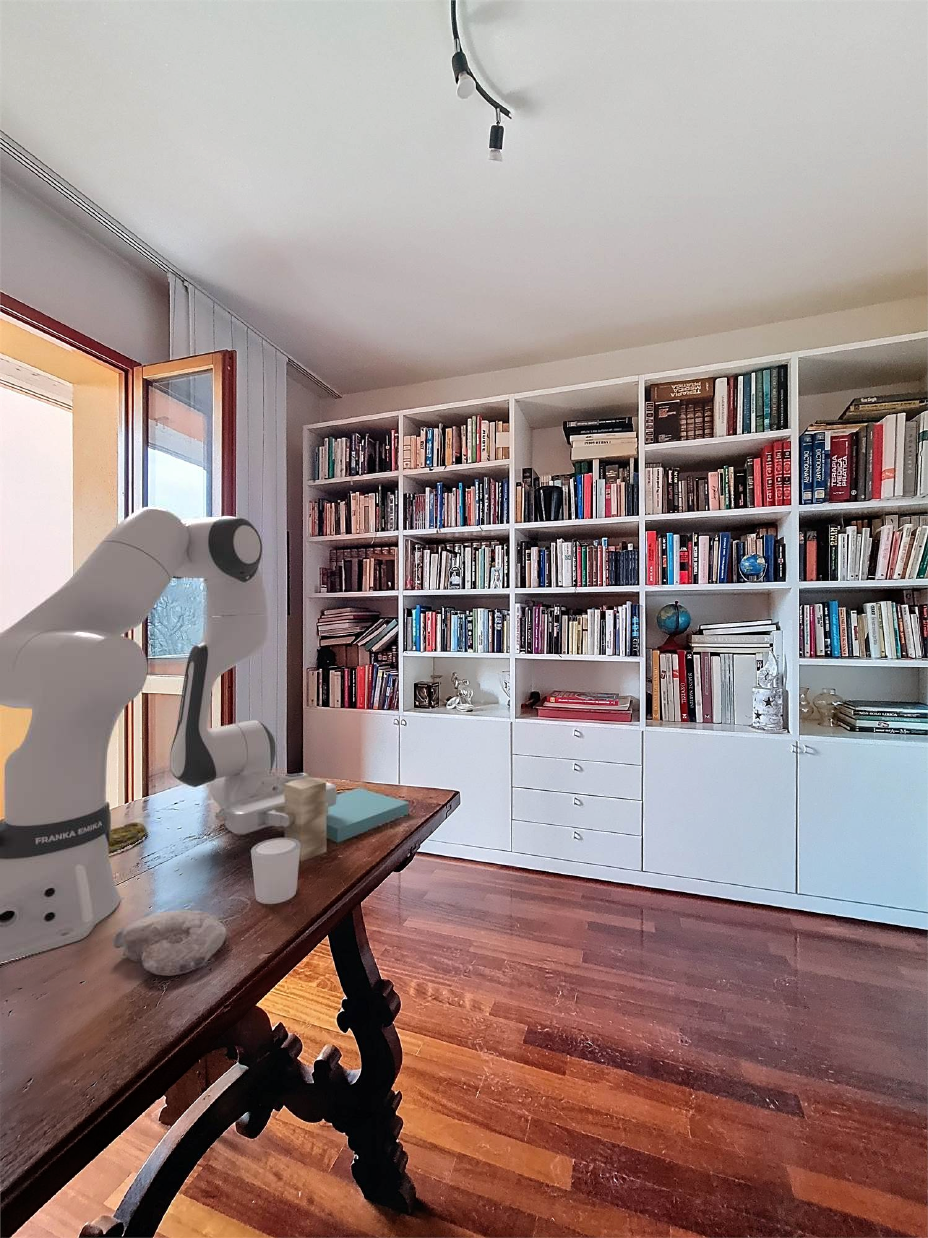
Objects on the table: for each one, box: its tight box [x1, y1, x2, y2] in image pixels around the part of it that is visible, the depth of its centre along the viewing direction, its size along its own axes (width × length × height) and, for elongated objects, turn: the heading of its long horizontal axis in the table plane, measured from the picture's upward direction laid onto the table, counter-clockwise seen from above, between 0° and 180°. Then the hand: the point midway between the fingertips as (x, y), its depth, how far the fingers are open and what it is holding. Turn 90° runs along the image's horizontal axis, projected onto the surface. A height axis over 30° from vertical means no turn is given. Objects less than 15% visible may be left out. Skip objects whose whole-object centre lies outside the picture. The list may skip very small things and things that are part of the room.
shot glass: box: [250, 837, 300, 905], centre depth 78 cm, size 7×7×7 cm
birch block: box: [284, 777, 327, 862], centre depth 92 cm, size 5×5×12 cm
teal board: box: [326, 787, 410, 843], centre depth 108 cm, size 18×16×2 cm
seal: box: [108, 821, 149, 854], centre depth 97 cm, size 9×5×15 cm
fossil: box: [112, 909, 228, 977], centre depth 64 cm, size 12×4×10 cm
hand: (308, 815), depth 92 cm, fingers open, 5 cm apart
